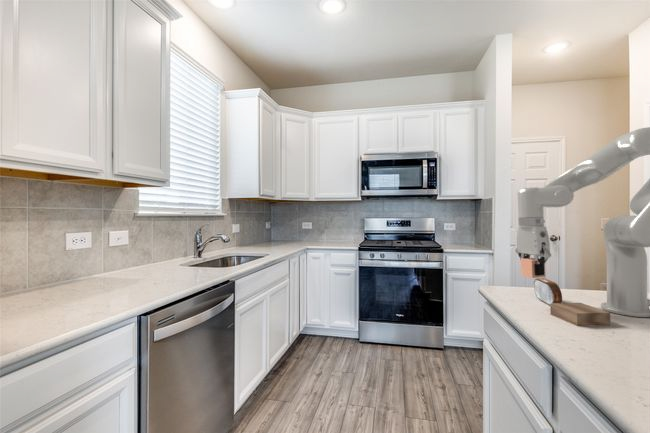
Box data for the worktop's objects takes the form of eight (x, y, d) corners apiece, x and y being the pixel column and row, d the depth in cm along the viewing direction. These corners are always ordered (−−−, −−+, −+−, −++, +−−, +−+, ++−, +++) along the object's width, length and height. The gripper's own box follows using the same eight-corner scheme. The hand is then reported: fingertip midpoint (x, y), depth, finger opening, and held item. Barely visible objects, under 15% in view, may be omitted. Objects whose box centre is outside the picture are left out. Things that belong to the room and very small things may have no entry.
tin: (563, 309, 104) (563, 284, 104) (552, 309, 104) (552, 284, 104) (541, 297, 118) (541, 275, 118) (532, 297, 119) (532, 275, 119)
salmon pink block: (533, 274, 111) (533, 257, 111) (545, 276, 106) (544, 259, 106) (521, 275, 110) (520, 258, 110) (532, 277, 105) (531, 260, 105)
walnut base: (580, 314, 99) (580, 302, 99) (610, 326, 89) (610, 312, 89) (550, 315, 99) (550, 303, 99) (577, 327, 89) (577, 313, 89)
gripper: (561, 222, 100) (564, 277, 100) (522, 221, 117) (524, 269, 117) (541, 223, 99) (543, 279, 99) (504, 222, 116) (506, 270, 116)
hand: (533, 273), depth 108 cm, fingers closed on salmon pink block, 4 cm apart
